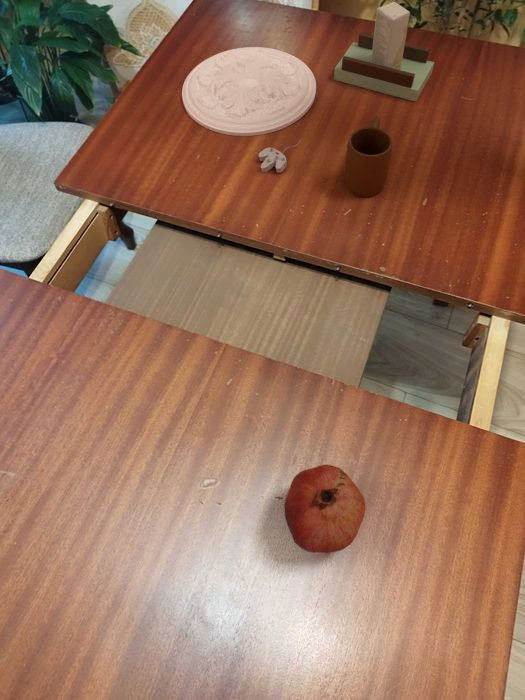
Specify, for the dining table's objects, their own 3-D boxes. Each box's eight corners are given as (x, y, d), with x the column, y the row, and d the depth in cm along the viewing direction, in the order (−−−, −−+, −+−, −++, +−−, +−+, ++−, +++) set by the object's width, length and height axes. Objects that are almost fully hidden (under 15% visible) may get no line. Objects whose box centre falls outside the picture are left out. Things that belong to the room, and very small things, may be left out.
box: (401, 68, 111) (412, 12, 101) (384, 76, 110) (393, 20, 100) (385, 55, 113) (394, 0, 104) (369, 63, 112) (376, 7, 103)
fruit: (311, 462, 74) (313, 436, 65) (375, 504, 71) (387, 482, 62) (266, 528, 70) (262, 510, 61) (332, 576, 67) (338, 564, 58)
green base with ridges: (431, 73, 114) (437, 50, 109) (415, 101, 109) (420, 78, 105) (351, 53, 118) (354, 30, 114) (333, 79, 114) (335, 56, 110)
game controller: (252, 169, 102) (251, 158, 100) (279, 132, 107) (279, 121, 105) (279, 178, 101) (279, 167, 98) (305, 140, 105) (306, 128, 103)
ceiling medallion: (327, 57, 118) (328, 43, 115) (299, 144, 105) (300, 130, 102) (205, 44, 122) (203, 30, 120) (164, 126, 109) (160, 112, 107)
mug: (350, 150, 103) (355, 106, 95) (390, 155, 102) (399, 112, 94) (339, 195, 98) (344, 153, 90) (382, 201, 97) (390, 159, 88)
